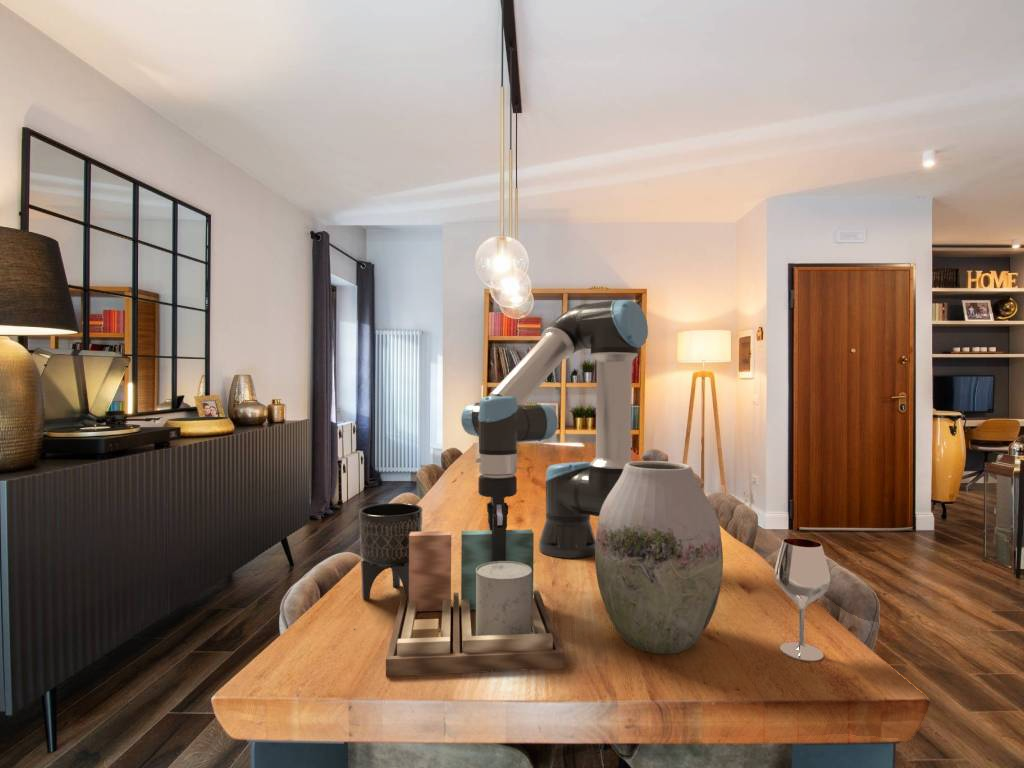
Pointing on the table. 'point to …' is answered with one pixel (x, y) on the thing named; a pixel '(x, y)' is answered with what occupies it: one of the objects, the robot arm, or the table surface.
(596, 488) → the robot arm
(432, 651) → the cube sled
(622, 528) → the vase
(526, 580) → the speckled stone cylinder
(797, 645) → the wineglass
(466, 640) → the can sled
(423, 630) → the oak cube
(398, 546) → the planter
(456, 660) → the guide frame
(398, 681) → the table surface
